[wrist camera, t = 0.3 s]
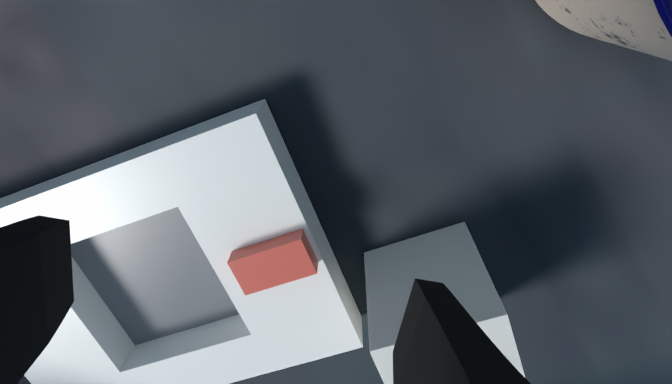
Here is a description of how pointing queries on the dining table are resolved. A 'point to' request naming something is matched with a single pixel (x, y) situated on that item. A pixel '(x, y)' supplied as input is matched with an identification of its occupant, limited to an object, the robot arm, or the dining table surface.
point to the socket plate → (192, 261)
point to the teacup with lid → (618, 22)
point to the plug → (439, 266)
